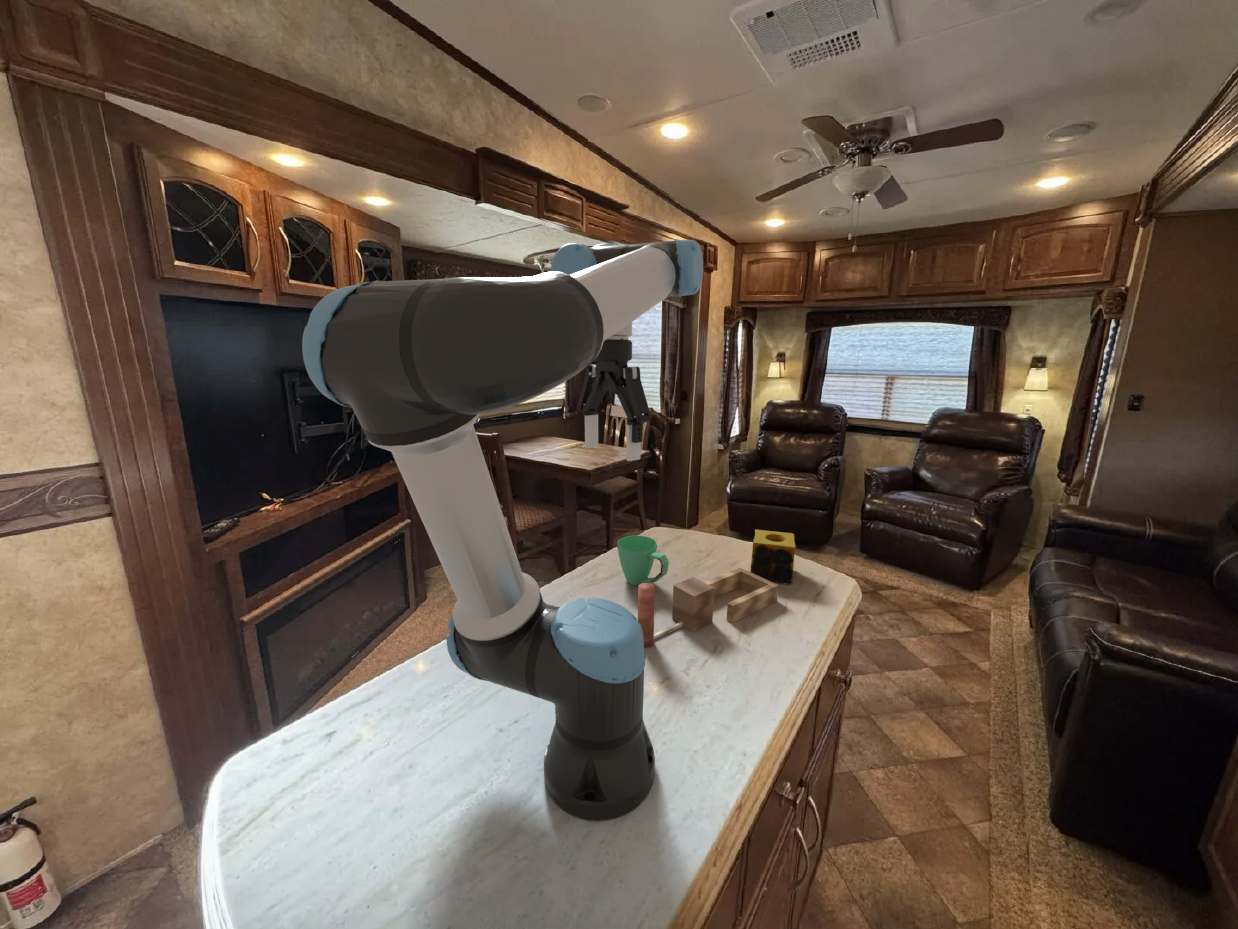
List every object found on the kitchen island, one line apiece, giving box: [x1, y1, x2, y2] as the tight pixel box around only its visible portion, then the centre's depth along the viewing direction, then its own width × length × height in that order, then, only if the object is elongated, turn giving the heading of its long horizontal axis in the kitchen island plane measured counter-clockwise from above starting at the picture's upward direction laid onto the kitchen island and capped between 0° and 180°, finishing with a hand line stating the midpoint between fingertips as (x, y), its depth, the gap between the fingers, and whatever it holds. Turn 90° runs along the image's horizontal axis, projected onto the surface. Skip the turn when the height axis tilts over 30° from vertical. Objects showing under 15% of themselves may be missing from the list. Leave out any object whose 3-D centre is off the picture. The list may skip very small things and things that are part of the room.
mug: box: [616, 534, 670, 586], centre depth 118 cm, size 15×10×10 cm
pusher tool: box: [637, 576, 715, 648], centre depth 98 cm, size 18×6×12 cm, turn 127°
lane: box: [703, 567, 779, 624], centre depth 110 cm, size 16×11×4 cm
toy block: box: [750, 529, 796, 585], centre depth 123 cm, size 10×10×10 cm
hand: (611, 453), depth 92 cm, fingers open, 13 cm apart
